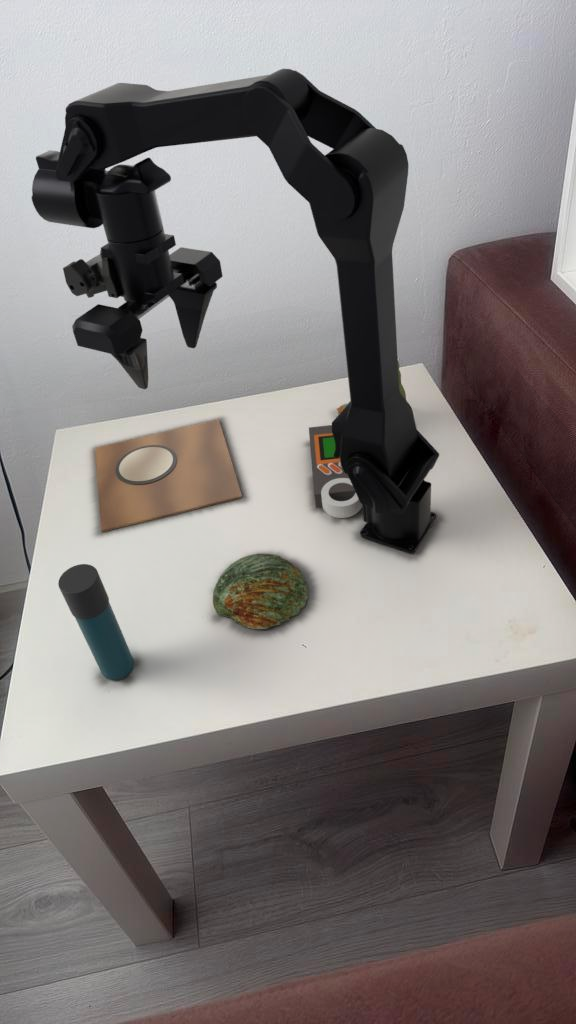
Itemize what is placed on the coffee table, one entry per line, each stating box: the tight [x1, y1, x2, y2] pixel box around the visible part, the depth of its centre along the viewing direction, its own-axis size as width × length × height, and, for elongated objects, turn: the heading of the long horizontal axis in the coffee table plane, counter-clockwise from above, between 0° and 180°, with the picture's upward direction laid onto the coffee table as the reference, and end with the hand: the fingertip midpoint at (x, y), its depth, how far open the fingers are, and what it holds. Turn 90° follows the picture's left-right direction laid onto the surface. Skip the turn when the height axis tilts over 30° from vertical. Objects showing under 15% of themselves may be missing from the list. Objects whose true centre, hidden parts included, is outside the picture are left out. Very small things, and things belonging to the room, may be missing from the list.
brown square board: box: [94, 418, 243, 533], centre depth 93 cm, size 17×17×1 cm
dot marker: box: [57, 563, 135, 682], centre depth 67 cm, size 3×3×13 cm
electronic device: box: [308, 424, 362, 519], centre depth 88 cm, size 7×3×15 cm
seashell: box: [212, 553, 309, 630], centre depth 75 cm, size 10×4×10 cm
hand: (168, 366), depth 84 cm, fingers open, 9 cm apart
